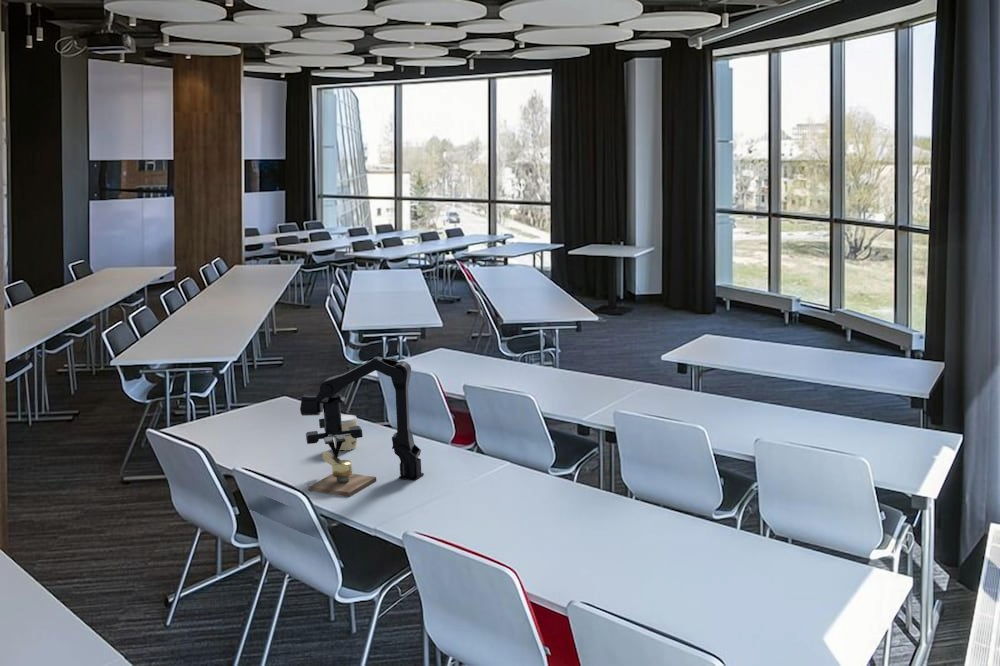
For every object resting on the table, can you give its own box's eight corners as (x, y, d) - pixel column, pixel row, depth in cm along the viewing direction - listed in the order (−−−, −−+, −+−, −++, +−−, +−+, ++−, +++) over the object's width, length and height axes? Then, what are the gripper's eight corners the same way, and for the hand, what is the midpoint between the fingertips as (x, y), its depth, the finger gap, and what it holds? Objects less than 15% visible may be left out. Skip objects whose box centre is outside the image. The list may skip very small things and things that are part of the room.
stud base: (376, 481, 311) (375, 470, 310) (349, 496, 296) (349, 485, 296) (336, 475, 317) (336, 465, 317) (308, 490, 303) (308, 480, 302)
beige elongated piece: (355, 475, 305) (354, 463, 304) (337, 478, 302) (336, 467, 301) (334, 461, 320) (333, 450, 320) (316, 464, 317) (316, 453, 316)
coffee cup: (356, 451, 344) (354, 420, 342) (331, 452, 344) (329, 421, 342) (360, 444, 353) (358, 414, 351) (336, 444, 353) (334, 414, 351)
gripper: (357, 406, 323) (360, 448, 326) (303, 412, 318) (307, 455, 321) (361, 413, 312) (364, 457, 315) (305, 420, 308) (309, 465, 310)
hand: (336, 458), depth 316 cm, fingers closed
